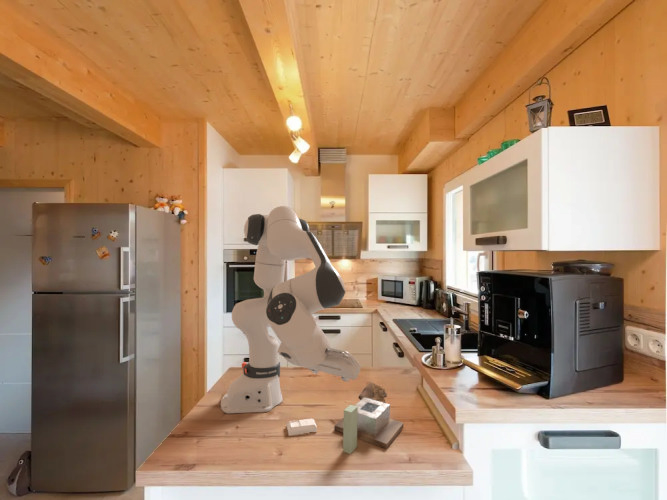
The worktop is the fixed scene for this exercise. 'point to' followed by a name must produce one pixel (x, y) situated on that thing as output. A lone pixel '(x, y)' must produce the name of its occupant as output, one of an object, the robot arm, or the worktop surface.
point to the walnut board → (384, 435)
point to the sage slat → (350, 429)
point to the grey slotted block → (372, 416)
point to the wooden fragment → (373, 392)
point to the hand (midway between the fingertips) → (331, 374)
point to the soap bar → (301, 426)
